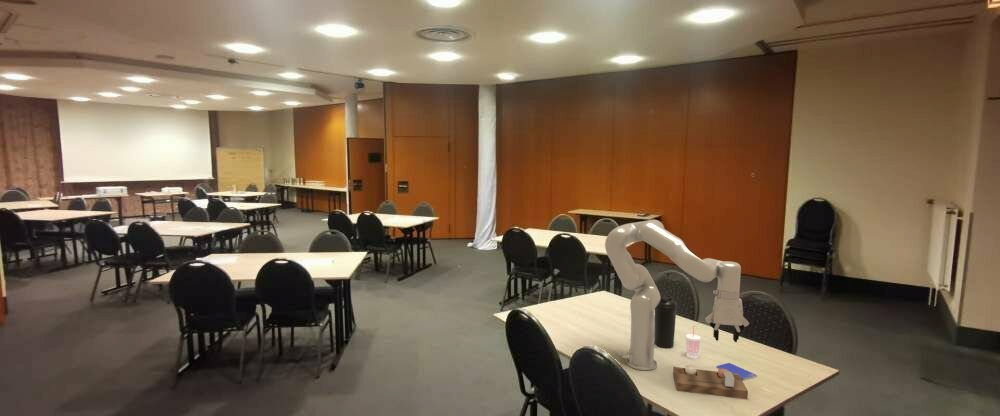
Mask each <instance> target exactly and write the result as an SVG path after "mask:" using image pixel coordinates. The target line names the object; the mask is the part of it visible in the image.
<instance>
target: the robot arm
mask: <svg viewBox="0 0 1000 416" xmlns="http://www.w3.org/2000/svg"><path fill="white" fill-rule="evenodd" d="M637 242H638V243H639V242H645V243H647V244H648V245H650V246H651V247H652V248H654V249H656V250H658V251H660V253H662V254H664V255H665V256H666V257H668V258H669V259H670V260H671V262H673V263H674V264H675V265H676V266H677V267H679V268H680V269H681V270H683V272H685V273H686V274H688V275H689V276H691V277H693V278H694V279H696V280H697V281H700V282H702V283H709V282H711V281H713V280H714V279H715V278H717V288H716V289H715V290H712V293H713V295H715V296H714V300H713V303H712V304H713V305H712V312H711V313H710V314H708V315H707V316H706V317H705V318H704V320H705V321H706V323H708V325H710V327H711V328H712V329H713V333H712V334H713V338H714V339H715V341H716V342H718V341H719V335H720V331H719V327H720V326H721V325H722V326H734V329H733V336H732V339H733V341H734V342H735V343H737V342H738V340H739V338H740V332H741V331H742V330H744V329H745V328H746V327H748V326H749V325H750V322H749V321H748V320H747V318H745V316H744V309H743V300H742V299H741V298H740V291H741V290H740V289H741V274H742V267H741V265H740V264H739V263H738V262H736V261H731V260H730V261H728V260H727V261H726V260H725V261H723V260H718V259H715V258H710V257H708V258H703V259H701V258H700V257H698V256H697V255H695V254H694V253H692V252H691V251H690V250H689V249H688V248H687V246H686V244H685V242H684V241H683V239H681V238H680V237H678V236H676V235H675V234H673V233H672V232H670V231H669V230H667V229H665V226H664V224H663V223H662V222H661V221H660V220H657V219H649V220H644V221H638V222H630V223H625V224H622V225H619V226H617V227H615V228H613V229H612V230H611V231H610V232H609V233H608V235H607V236H606V238H605V242H604V247H605V252H606V254H607V257H608V259H609V260H610V262H611V265H612V266H613V268H614V271H615V272H616V274H617V277H618V278H619V280H620V282H621V284H622V285H623V287H624V288H625V289H627V290H629V291H634V292H635V293H634V294H633V295H632V298H631V300H630V305H629V306H630V308H629V309H630V343H629V344H630V349H629V351H626V352H625V351H619V353H618V356H619V357H621V358H622V360H623V359H625V362H626V364H627V366H629V367H630V368H633V369H636V370H639V371H653V370H655V369H656V368H657V367H658V362H657V360H655V359H654V355H655V354H654V353H655V344H654V334H655V308H656V307H657V305H658V304H659V302H660V298H661V293H660V291H659V289H658V287H657V285H656V284H655V281H654V279H653V277H652V276H651V273H650V272H649V270H648V269H647V268H646V267H645V266H644V265H642V264H639V263H636V262H635V261H634V259H633V257H632V255H631V253H629V251H628V250H627V248H626V247H627V246H628V245H630V244H631V243H637ZM712 320H713V321H712Z"/></svg>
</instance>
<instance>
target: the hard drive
mask: <svg viewBox="0 0 1000 416" xmlns="http://www.w3.org/2000/svg"><path fill="white" fill-rule="evenodd" d="M716 369H717V370H719V369H726V370H728V371H730V372H731V373H736V374H739V376H740V377H741V379H742V381H743V382H745V381H748V380H752V379H755V378H757V377H758V375H757V374H756V373H753V372H752V371H748V370H746V369H744V368H742V367H740V366H738V365H736V364H733V363H731V362H727V363H724V364H719V365H717V366H716Z"/></svg>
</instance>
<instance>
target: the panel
mask: <svg viewBox="0 0 1000 416" xmlns="http://www.w3.org/2000/svg"><path fill="white" fill-rule="evenodd" d="M672 369H673V370H672V374H673V375H672V376H673V379H674V384H675V388H676V391H678V392H684V393H685V392H688V393H695V394H703V395H712V396H717V397H718V396H720V397H728V398H736V399H744V400H748V399H749V390H748V389H747V387H746V385H745V383H744V381H742V379H741V377H740V376H739V374H736V373H732V375H733V376H734V387H728V386H725V385H724V383H723V381H722V378H718V371H715V370H707V369H706V370H704V369H698V368H696V375H687V374H685V367H679V366H673V367H672Z"/></svg>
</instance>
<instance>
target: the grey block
mask: <svg viewBox="0 0 1000 416" xmlns="http://www.w3.org/2000/svg"><path fill="white" fill-rule="evenodd" d="M722 381H723V383H724V385H725V386H728V387H734V376H733V375H732V373H731V372H726V371H722Z"/></svg>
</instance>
